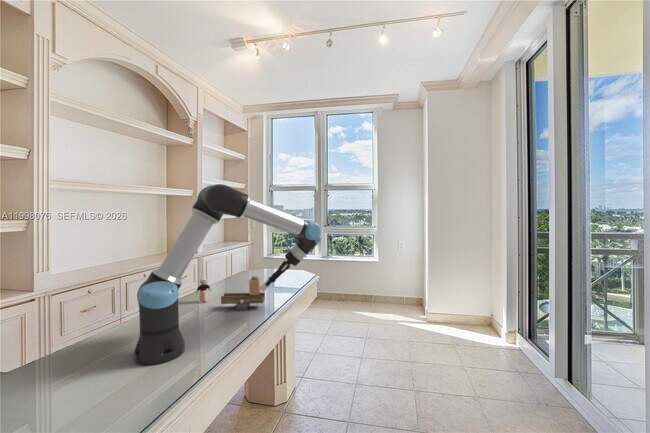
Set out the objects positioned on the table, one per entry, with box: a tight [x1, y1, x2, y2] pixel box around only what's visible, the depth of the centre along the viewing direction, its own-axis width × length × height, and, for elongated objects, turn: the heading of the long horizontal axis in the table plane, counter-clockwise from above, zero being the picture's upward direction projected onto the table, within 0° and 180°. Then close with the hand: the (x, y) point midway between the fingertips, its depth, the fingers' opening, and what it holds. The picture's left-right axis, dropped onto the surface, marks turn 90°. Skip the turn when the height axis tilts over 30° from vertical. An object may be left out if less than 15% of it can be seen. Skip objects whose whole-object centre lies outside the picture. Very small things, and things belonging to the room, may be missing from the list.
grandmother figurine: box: [195, 277, 212, 304], centre depth 159 cm, size 8×4×13 cm, turn 143°
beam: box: [220, 292, 266, 311], centre depth 149 cm, size 7×20×7 cm, turn 92°
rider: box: [248, 275, 261, 296], centre depth 149 cm, size 4×4×10 cm
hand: (262, 289), depth 149 cm, fingers closed
